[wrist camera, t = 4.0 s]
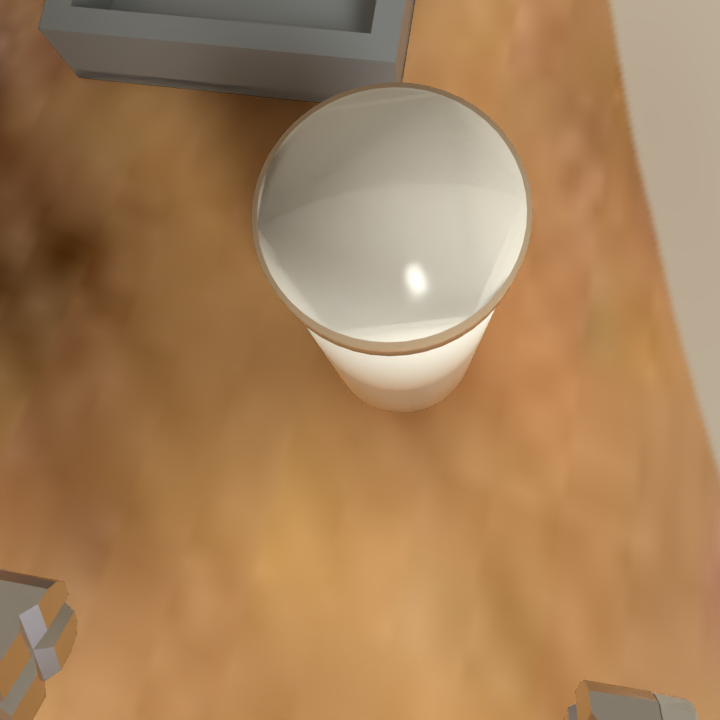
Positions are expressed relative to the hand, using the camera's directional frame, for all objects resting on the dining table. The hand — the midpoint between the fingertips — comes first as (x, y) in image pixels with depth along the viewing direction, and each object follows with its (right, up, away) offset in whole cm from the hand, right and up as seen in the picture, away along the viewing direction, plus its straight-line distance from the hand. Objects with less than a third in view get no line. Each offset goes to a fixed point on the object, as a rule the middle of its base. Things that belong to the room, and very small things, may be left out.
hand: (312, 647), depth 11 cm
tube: (+2, +5, +14) cm, 15 cm away
